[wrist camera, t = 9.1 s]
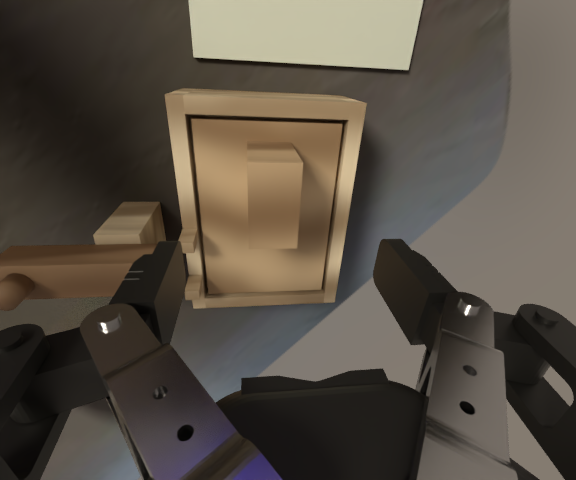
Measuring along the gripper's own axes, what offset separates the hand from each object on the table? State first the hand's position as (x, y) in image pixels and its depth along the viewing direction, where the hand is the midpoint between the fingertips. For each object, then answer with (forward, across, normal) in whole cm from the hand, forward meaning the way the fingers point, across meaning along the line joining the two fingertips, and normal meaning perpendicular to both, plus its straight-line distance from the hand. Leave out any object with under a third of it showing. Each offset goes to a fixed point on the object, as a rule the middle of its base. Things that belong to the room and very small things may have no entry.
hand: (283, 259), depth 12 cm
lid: (+11, 0, +3) cm, 11 cm away
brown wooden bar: (+9, +12, +6) cm, 17 cm away
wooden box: (+16, +3, +3) cm, 16 cm away
